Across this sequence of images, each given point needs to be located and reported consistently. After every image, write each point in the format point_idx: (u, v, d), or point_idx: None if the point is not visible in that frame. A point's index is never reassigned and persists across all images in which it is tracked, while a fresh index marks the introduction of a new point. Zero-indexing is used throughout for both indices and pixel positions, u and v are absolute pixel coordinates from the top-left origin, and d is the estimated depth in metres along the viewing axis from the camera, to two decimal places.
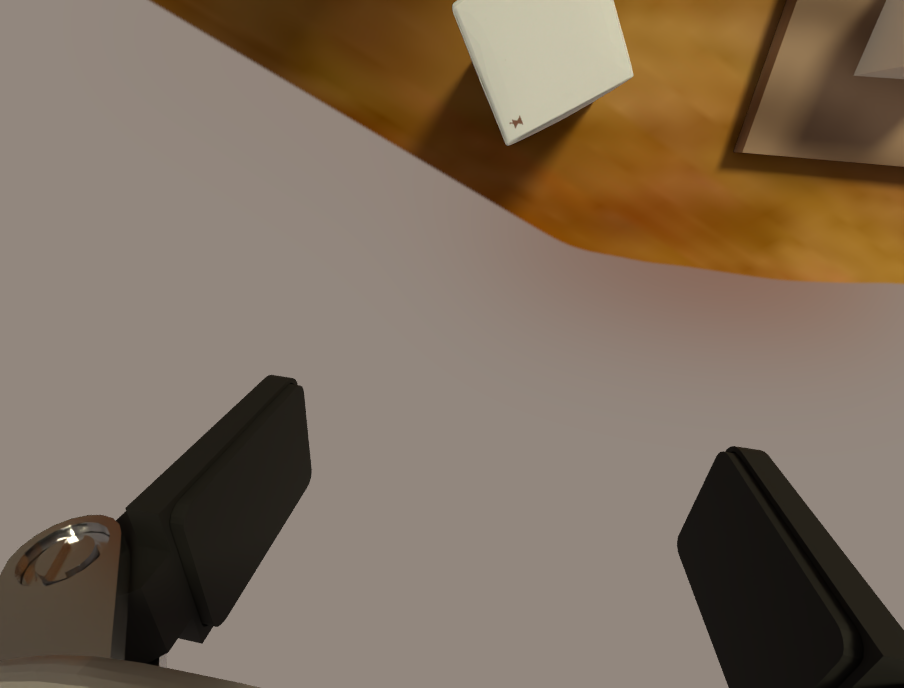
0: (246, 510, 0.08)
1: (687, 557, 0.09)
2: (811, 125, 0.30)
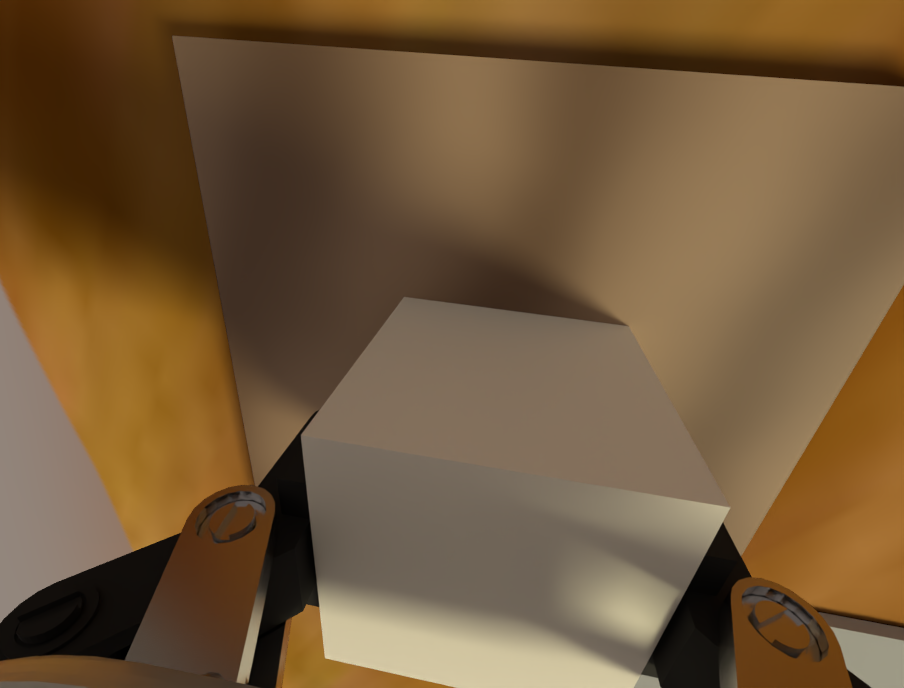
0: None
1: None
2: (284, 233, 0.10)
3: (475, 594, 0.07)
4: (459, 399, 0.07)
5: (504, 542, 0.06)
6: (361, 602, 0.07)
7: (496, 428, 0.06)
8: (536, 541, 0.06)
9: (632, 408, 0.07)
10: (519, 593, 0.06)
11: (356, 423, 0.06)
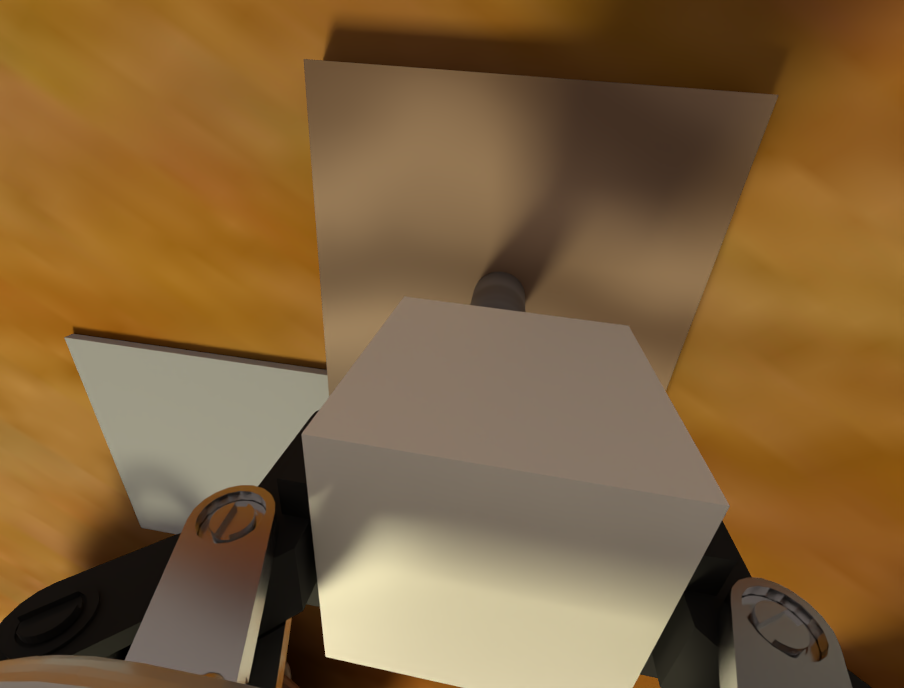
0: None
1: None
2: (635, 154, 0.15)
3: (475, 592, 0.07)
4: (459, 398, 0.07)
5: (504, 540, 0.06)
6: (361, 601, 0.07)
7: (496, 427, 0.06)
8: (536, 539, 0.06)
9: (632, 408, 0.07)
10: (519, 591, 0.07)
11: (357, 421, 0.06)
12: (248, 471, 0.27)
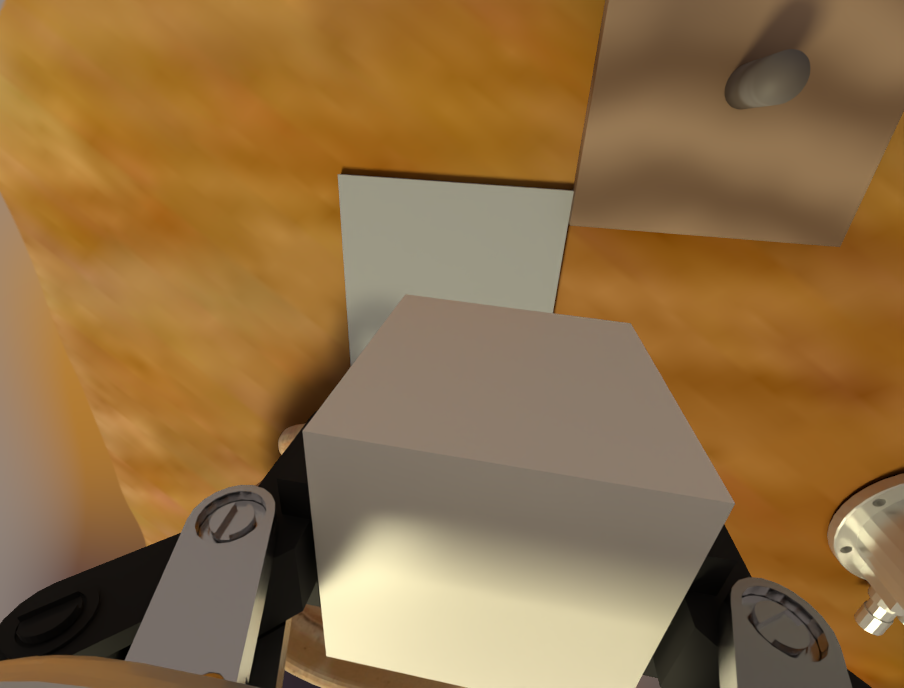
0: None
1: None
2: None
3: (477, 591, 0.07)
4: (462, 396, 0.07)
5: (507, 538, 0.06)
6: (363, 599, 0.07)
7: (498, 424, 0.06)
8: (539, 537, 0.06)
9: (636, 404, 0.07)
10: (521, 590, 0.06)
11: (358, 418, 0.06)
12: (469, 300, 0.31)
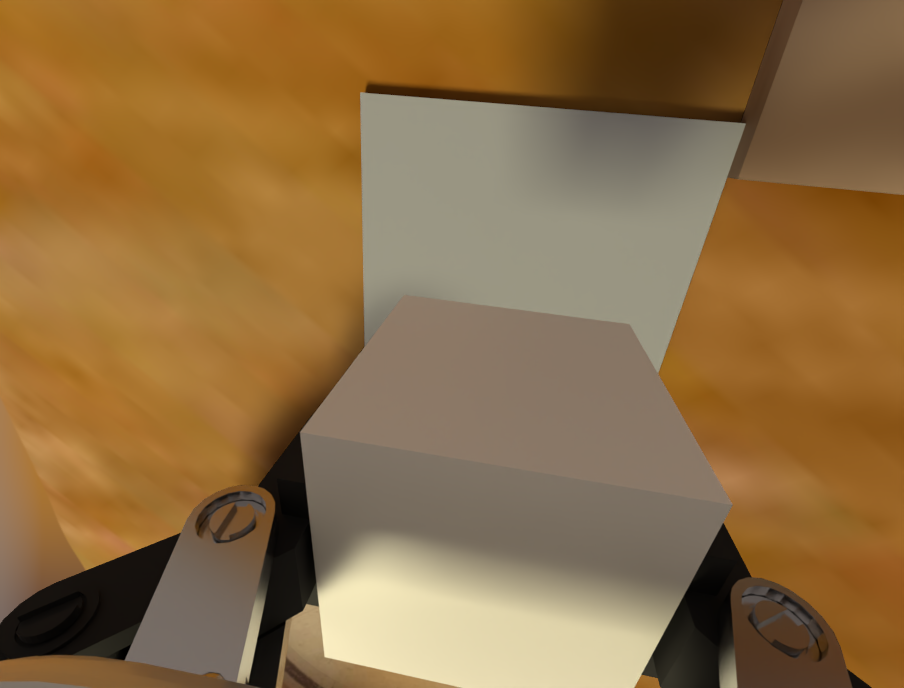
0: None
1: None
2: None
3: (475, 592, 0.07)
4: (460, 397, 0.07)
5: (504, 540, 0.06)
6: (361, 600, 0.07)
7: (496, 425, 0.06)
8: (537, 539, 0.06)
9: (634, 406, 0.07)
10: (519, 591, 0.06)
11: (356, 419, 0.06)
12: (549, 297, 0.21)
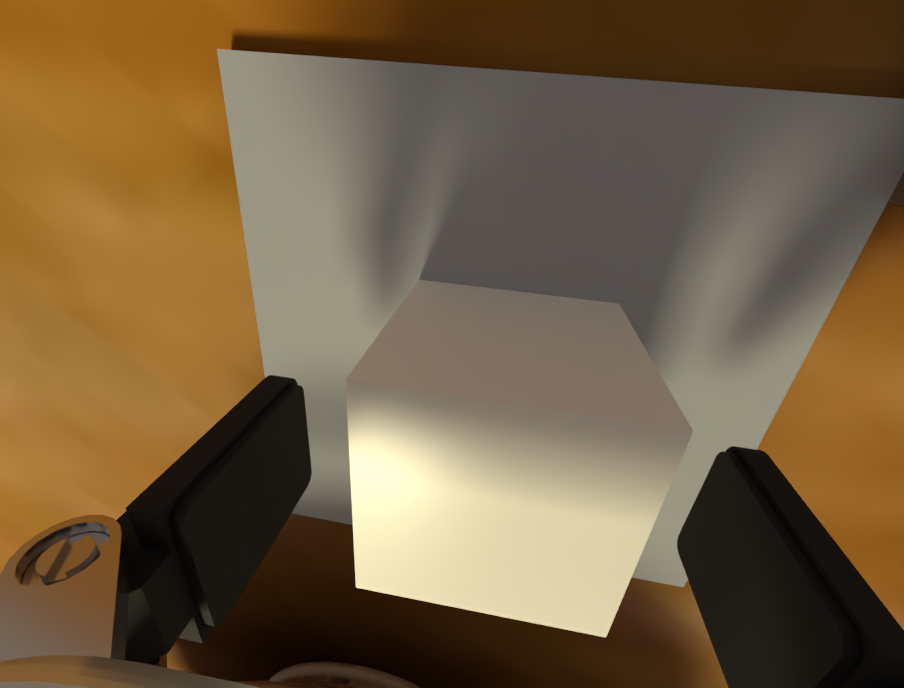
0: (246, 510, 0.08)
1: (687, 557, 0.09)
2: None
3: (487, 519, 0.08)
4: (473, 356, 0.08)
5: (511, 469, 0.07)
6: (389, 531, 0.09)
7: (504, 376, 0.07)
8: (538, 467, 0.07)
9: (618, 364, 0.08)
10: (524, 516, 0.08)
11: (388, 371, 0.07)
12: None
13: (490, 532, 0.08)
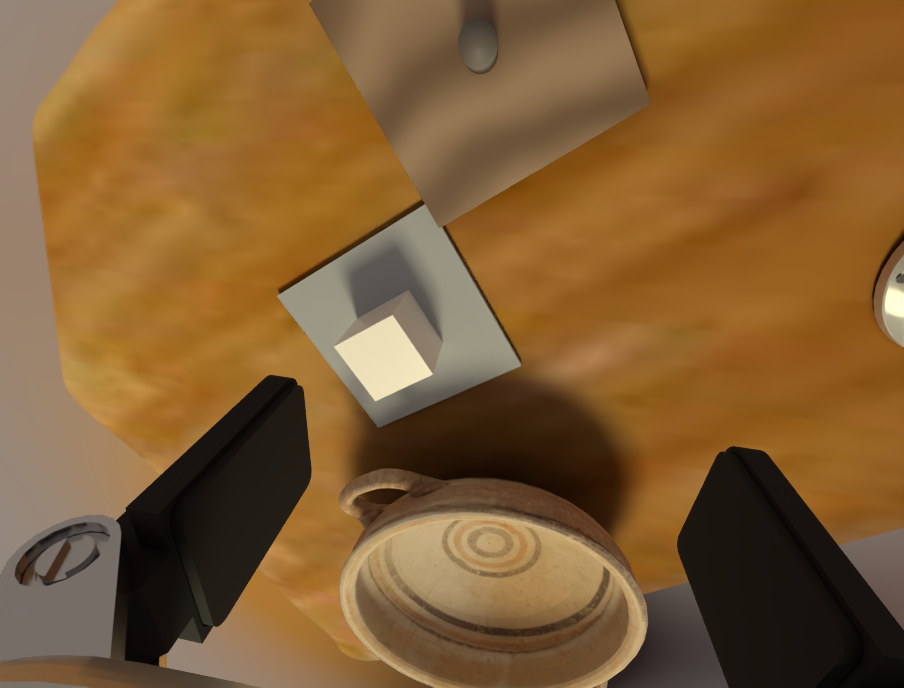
0: (246, 510, 0.08)
1: (687, 557, 0.09)
2: None
3: (381, 359, 0.32)
4: (360, 327, 0.33)
5: (374, 344, 0.32)
6: (368, 377, 0.33)
7: (364, 327, 0.32)
8: (378, 340, 0.31)
9: (391, 309, 0.32)
10: (386, 353, 0.32)
11: (342, 340, 0.32)
12: None
13: (385, 362, 0.32)
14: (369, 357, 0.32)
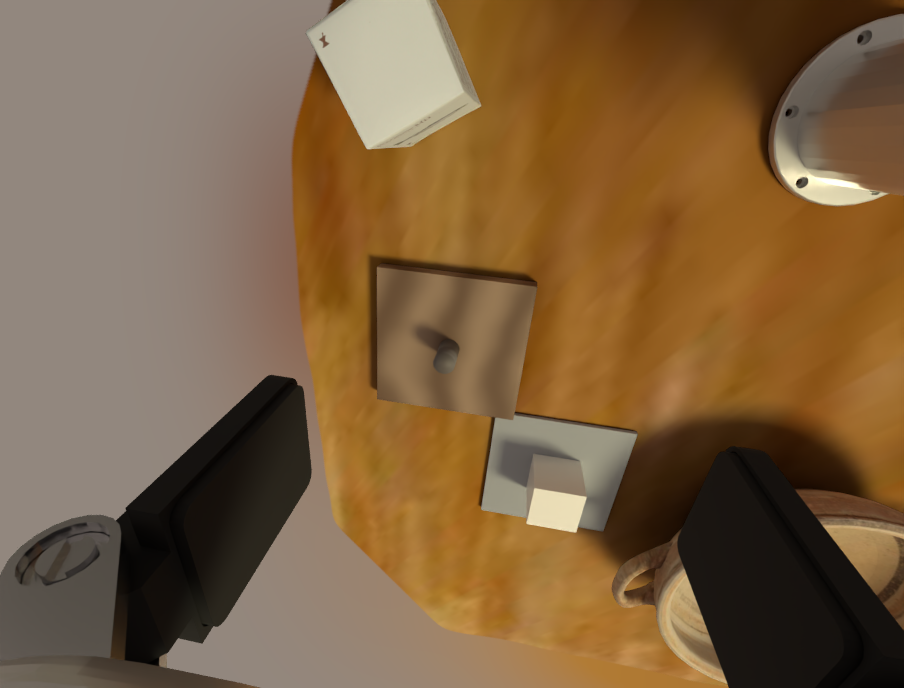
0: (246, 510, 0.08)
1: (687, 557, 0.09)
2: (396, 306, 0.43)
3: (554, 511, 0.46)
4: (529, 501, 0.48)
5: (542, 507, 0.46)
6: (558, 524, 0.47)
7: (530, 501, 0.47)
8: (542, 504, 0.46)
9: (533, 480, 0.47)
10: (553, 506, 0.46)
11: (527, 516, 0.48)
12: None
13: (557, 511, 0.46)
14: (547, 514, 0.47)
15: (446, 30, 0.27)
